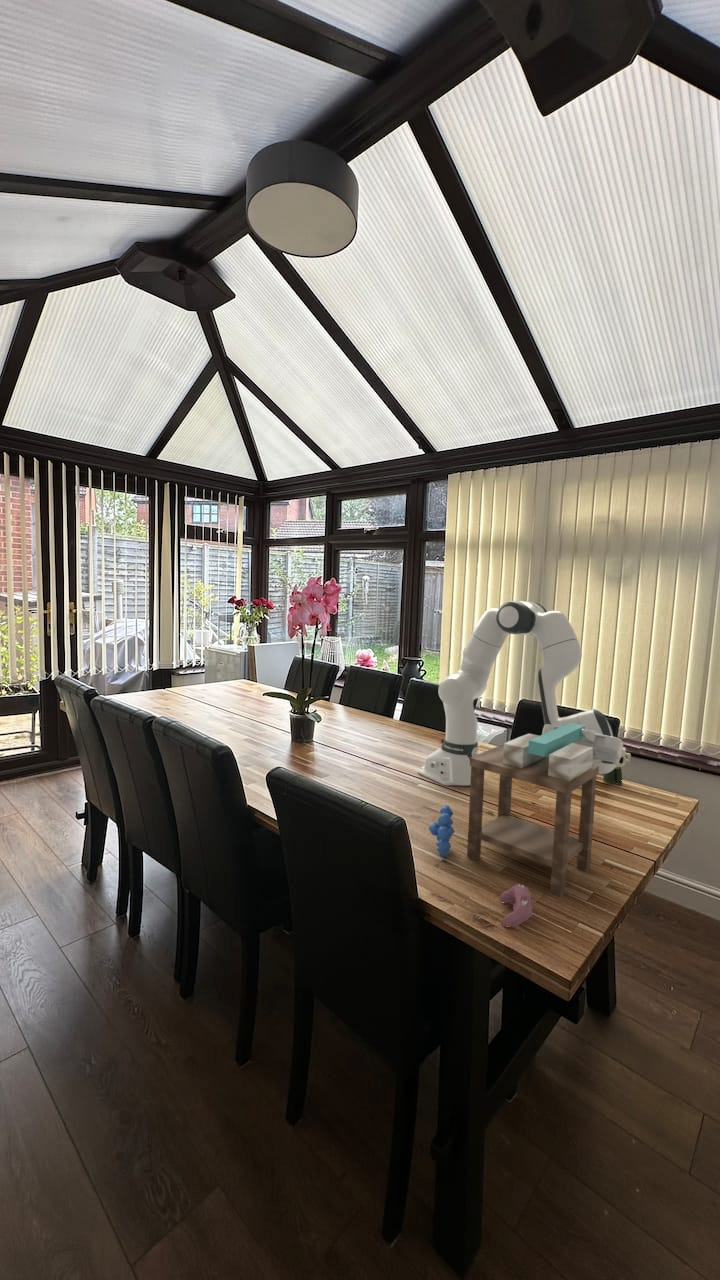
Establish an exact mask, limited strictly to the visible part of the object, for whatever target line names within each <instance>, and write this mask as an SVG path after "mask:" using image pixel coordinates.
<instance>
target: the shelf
mask: <svg viewBox="0 0 720 1280" xmlns="http://www.w3.org/2000/svg"><path fill="white" fill-rule="evenodd" d="M538 736H539V734H538V735H537V734H533V733H526V734H524V735H521V736H518V737H516V738H514V739H511V740H509V741H506V742H504V743H503V744H501V745H498V746H496V747H493V748H491V749H488V750H486V751H483V752H480V753H477V755H476V756H473V757H471V758H470V766H471V783H470V785H469V788H470V789H469V808H468V809H469V810H468V811H469V812H468V833H467V851H466V856H467V857H468V858H470V859H472V858H473V860H477V859H479V858H480V857H481V850H482V849H481V847H482V841H484V842H486V843H488V844H491V845H494V846H497V847H499V848H501V849H504V850H507V851H509V852H512V853H513V854H517V855H519V856H522V857H524V858H527V859H530V860H532V861H535V862H537V863H540V864H542V865H545V866H548V867H550V868H551V874H550V876H551V878H550V890H549V891H550V893H552V894H554V895H556V896H559V897H562V896H563V895H564V894H565V893H566V886H567V869H568V863H570V861H572V860H573V858H575V857H576V856H577V857H576V869H579V870H582V871H584V872H588V870H589V869H590V868H591V860H592V858H591V857H592V845H593V833H594V832H593V831H594V817H595V803H596V790H597V776H598V775H599V774H598V772H599V766H596V765H592V756H593V747H588V746H584V745H579V744H575V743H571V744H569V745H567V746H565V747H563V748H561V749H559V750H557V751H555V752H553V753H551V754H549V755H547V756H545V757H543V756H539V755H535V754H531V753H528V748H529V740H531V739H533V738H536V737H538ZM485 771H488V772H491V773H495V774H498V775H499V787H498V788H499V789H498V803H497V805H498V806H497V808H498V809H497V817H496V818H494V819H493V820H491V821H490V822H488V823H486V824H484V825H483V810H484V809H483V807H484V791H485V789H484V788H485V787H484V786H485ZM513 779H515V780H519V781H521V782H526V783H529V784H531V785H537V786H539V787H543V788H547V789H549V790H554V791H556V796H555V797H556V798H555V812H554V825H553V827H554V829H551V828H547V827H544V826H541V825H538V824H535V823H532V822H529V821H527V820H524V819H521V818H518V817H515V816H512V815H511V807H512V806H511V805H512V790H513V789H512V787H513ZM579 787H581V795H580V810H579V811H580V812H579V813H580V814H579V825H578V838H575V837H573V836H570V824H571V808H572V807H571V806H572V792H573V791H575V790H577V789H578V788H579Z"/></svg>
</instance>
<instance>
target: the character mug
mask: <svg viewBox="0 0 720 1280" xmlns="http://www.w3.org/2000/svg"><path fill="white" fill-rule="evenodd" d="M626 756H627V758H626ZM631 757H632V755H631V753H630V752H627V748H626V747H624V746H623V749H622V754H621V758H620V760H619V763H618V764H616V767H615V768H614V769H613V770H612V771H611V772H609V773H606V774H603V777H602V779H603V781H604V782H605V783H608V784H612V785H614V784H615V783H616V785H622V783H623V773H622V772H623V771H622V767H624V766H625V764H626V763H630V762H631ZM621 780H622V781H621Z"/></svg>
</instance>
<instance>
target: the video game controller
mask: <svg viewBox="0 0 720 1280" xmlns="http://www.w3.org/2000/svg"><path fill="white" fill-rule="evenodd" d="M531 899H532V896H531V892H530V889H529V888H528V887H527V886H525V885H523V884H522V885H521V884H520V883H518V884H515V885H514V886H512V887H511V888H509V889H507V890H506V891H504V892H502V893H501V894H500V896H499V902H500V903H501V902H504V903H508V904H512V903H513V906H512V910H513V911H512V912H510V913H508V914H507V915H505V916H504V917H503V919H502V921H501V923H502V926H504V925H505V926H512V927H511V928H515V926H516V927H517V926H518V927H519V925H521V924H523V923H524V922H526V921H528V920H529V918H532V916H533V905H532V900H531ZM504 903H503V904H504ZM505 926H504V927H505Z"/></svg>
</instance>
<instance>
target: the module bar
mask: <svg viewBox="0 0 720 1280" xmlns="http://www.w3.org/2000/svg"><path fill="white" fill-rule="evenodd" d="M581 729H584V730H585V725H580V724H574V723H568V724H566V725H564V726H561V727H559V728H557V729H554V730H552V731H550V732H547V733H545V734H543V735H542V734H541V735H538V737H536V738H533V739H531V740H529V748H528V753H531V754H535V755H539V756H543V757H545V756H547V755H549V754H551V753H553V752H555V751H557V750H559V749H561V748H563V747H565V746H567V745H569V744H571V743H573V742H575V741H577V740H579V739H581V738H583V737H581V736H580V732H581Z"/></svg>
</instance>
